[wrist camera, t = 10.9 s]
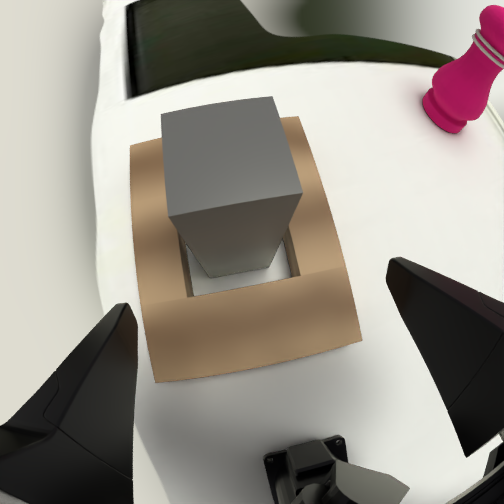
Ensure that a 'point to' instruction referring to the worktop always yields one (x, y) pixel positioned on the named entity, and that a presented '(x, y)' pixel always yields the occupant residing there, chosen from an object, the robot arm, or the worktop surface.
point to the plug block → (229, 182)
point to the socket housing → (241, 299)
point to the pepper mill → (468, 76)
